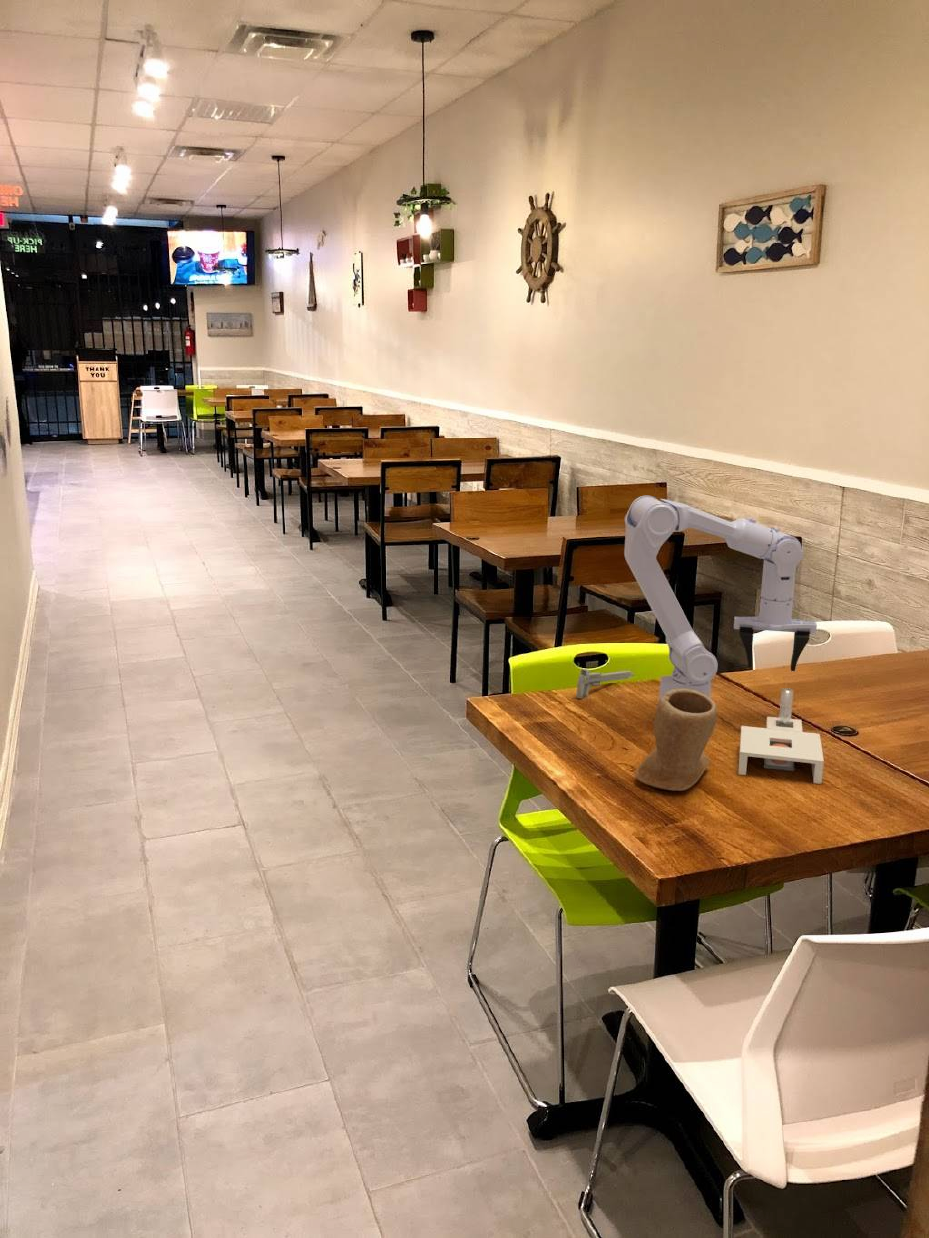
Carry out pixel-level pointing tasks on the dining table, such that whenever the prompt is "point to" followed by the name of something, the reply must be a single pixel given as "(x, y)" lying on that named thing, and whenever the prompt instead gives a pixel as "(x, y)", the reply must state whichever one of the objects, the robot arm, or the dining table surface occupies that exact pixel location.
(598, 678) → the caliper
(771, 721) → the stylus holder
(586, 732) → the dining table surface
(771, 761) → the button
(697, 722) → the stone cup
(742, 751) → the white slotted stand
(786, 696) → the stylus
